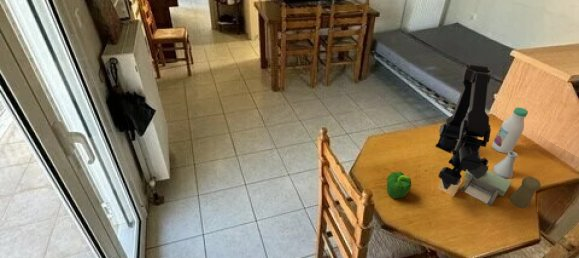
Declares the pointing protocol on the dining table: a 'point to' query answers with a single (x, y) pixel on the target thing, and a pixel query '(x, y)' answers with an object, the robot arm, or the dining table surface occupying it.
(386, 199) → the dining table surface
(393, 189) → the bell pepper
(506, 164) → the flask
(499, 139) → the milk bottle
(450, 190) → the tan and grey block
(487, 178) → the sage green knobbed slab
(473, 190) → the bracket
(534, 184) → the olive pepper mill
